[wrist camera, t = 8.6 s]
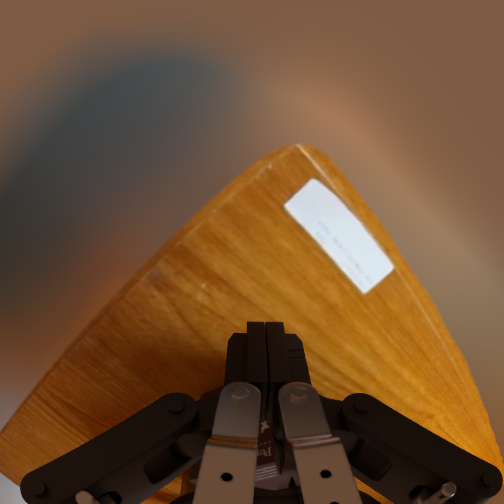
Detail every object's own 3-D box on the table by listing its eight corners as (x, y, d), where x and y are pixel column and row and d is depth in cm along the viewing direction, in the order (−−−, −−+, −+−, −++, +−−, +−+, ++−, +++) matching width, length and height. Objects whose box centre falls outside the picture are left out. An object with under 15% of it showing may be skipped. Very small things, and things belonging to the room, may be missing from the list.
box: (274, 364, 19) (283, 459, 12) (310, 411, 21) (325, 491, 14) (198, 394, 20) (185, 480, 13) (242, 434, 22) (241, 510, 15)
